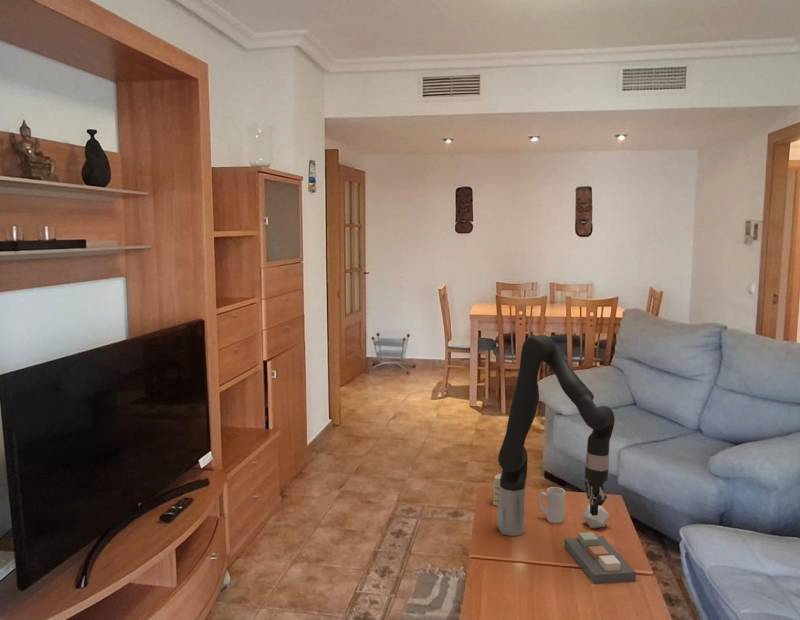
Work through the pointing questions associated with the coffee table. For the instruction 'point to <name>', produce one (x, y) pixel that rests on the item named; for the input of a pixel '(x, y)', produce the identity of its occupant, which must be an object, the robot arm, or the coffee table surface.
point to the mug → (553, 504)
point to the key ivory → (609, 563)
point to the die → (596, 517)
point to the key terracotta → (597, 551)
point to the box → (496, 490)
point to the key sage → (588, 539)
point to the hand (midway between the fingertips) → (593, 514)
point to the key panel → (592, 566)
